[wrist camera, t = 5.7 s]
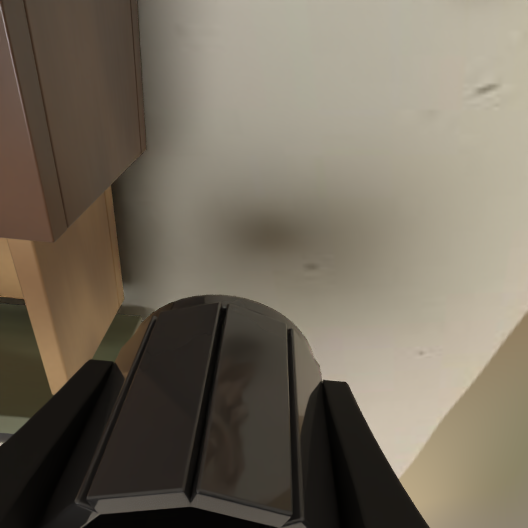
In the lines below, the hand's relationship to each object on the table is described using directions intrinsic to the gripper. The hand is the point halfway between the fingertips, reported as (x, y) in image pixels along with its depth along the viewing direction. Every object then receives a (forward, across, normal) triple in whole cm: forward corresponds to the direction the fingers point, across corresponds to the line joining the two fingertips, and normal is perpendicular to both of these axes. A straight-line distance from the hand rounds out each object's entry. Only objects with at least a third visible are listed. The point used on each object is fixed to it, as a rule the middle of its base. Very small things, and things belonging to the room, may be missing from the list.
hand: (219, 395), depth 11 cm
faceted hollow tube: (+1, 0, 0) cm, 1 cm away
